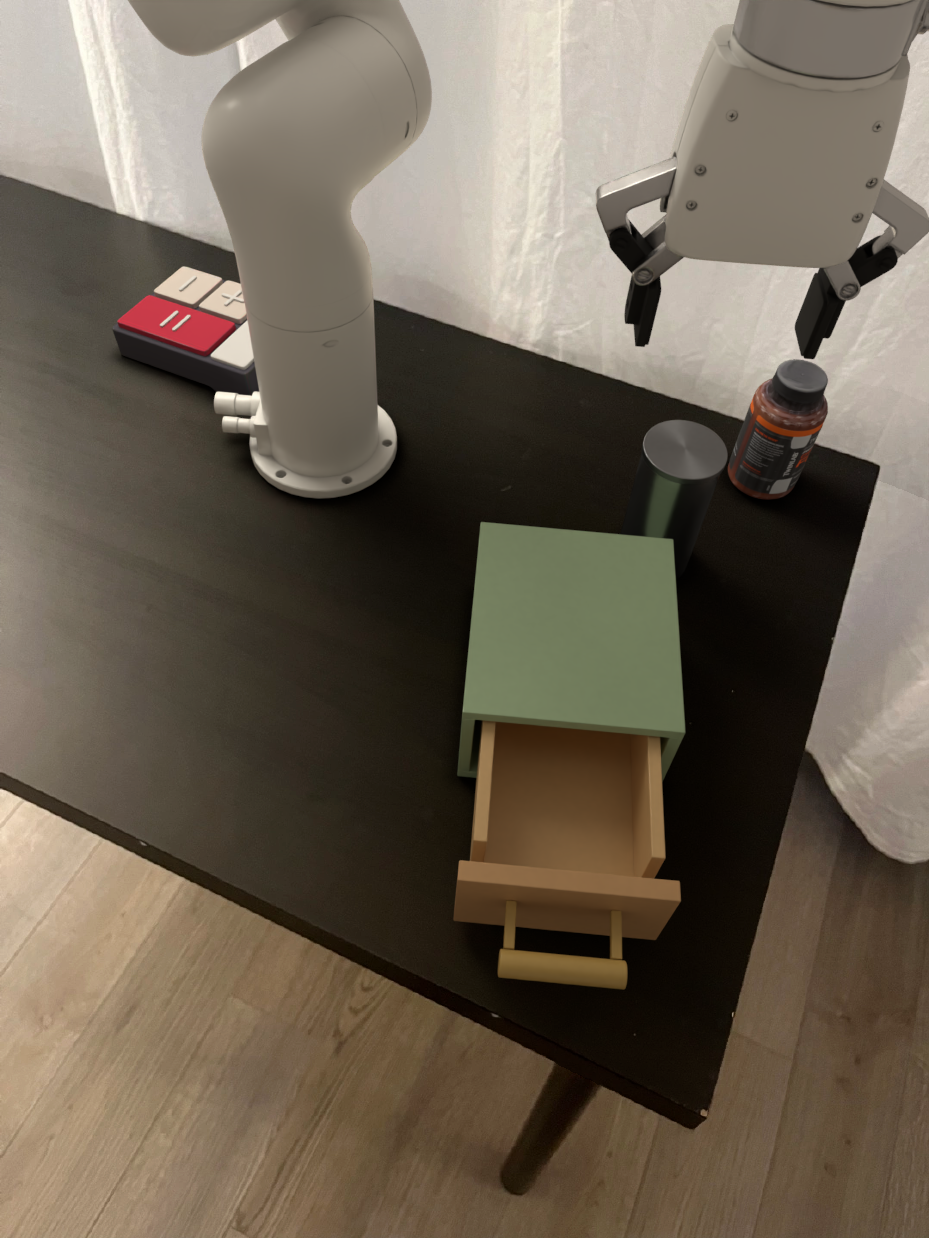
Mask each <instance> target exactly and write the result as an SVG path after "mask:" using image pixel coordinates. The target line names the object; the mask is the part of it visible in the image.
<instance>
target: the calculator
mask: <svg viewBox="0 0 929 1238" xmlns="http://www.w3.org/2000/svg"><path fill="white" fill-rule="evenodd" d="M111 329H112V333H113V335H114V339H115V341H116V344H117V347H118V350H119V352H120V355H121V356H123V357H126V358H129V359H132V360H134V361H138V362H141V363H143V364H146V365H149V366H152V367H155V368H158V369H159V370H163V371H165V372H169V373H171V374H174V375H177V376H180V377H183V378H185V379H188V380H191V381H194V382H197V383H200V384H202V385H205V386H208V387H210V388H211V389H212V390H213V391H215V393H216V392H229V393H238V394H239V395H249V396H252V394H253V392H254V391H256V392H259V387H258V381H257V375H256V369H255V363H254V357H253V351H252V345H251V339H250V333H249V327H248V321H247V315H246V309H245V303H244V300H243V294H242V289H241V283H239V282H236V281H233V280H224V279H223V278H222V277H220V276H218V275H214V274H210V273H207V272H204V271H201V270H197V269H194V268H191V267H189V266H181V267H180V268H179V269H178V270H176V271H175V272H174V273H173V274H171V276H169V277H167V279H165V280H164V281H163V282H162V283H161V284H159V285H158V286H157V287H156V288H155V289H154V290H153V292H152V293H151V294H148V295H146V296H145V297H144V298H142V299H141V300H140V301H139V302H138V303H136V304H135V305H134V306H133V307H132V308H130V309H129V310H128V311H127V312H126V313H124V314H123V315H122V316H121V317H119V318H118V319H117V320H116V323H115V324H114V325H113V326H112V328H111Z"/></svg>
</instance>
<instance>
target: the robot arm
mask: <svg viewBox="0 0 929 1238" xmlns="http://www.w3.org/2000/svg"><path fill="white" fill-rule="evenodd" d="M127 1H128V3H129V5H130V6H131V7H132V9H133V11H134V12H135V13H136V15H137V16H138V18H139V19H140V20H141V22H142V23H143V24H144V26H145V27H146V29H147V30H148V31H149V32H150V34H151V35H152V36H153V37H154V38H155V39H156V40H157V41H158V42H159V43H160V44H161V45H162V46H164V47H165V48H167V49H168V50H170V51H172V52H174V53H176V54H178V55H181V56H185V57H200V56H206V55H207V56H208V55H211V54H213V53H216V52H218V51H219V52H220V51H221V50H223V49H225V48H226V47H228V46H230V45H232V44H234V43H237V42H239V41H241V40H242V39H244V38H245V37H247V36H250V35H251V34H253V33H254V32H256V31H258V30H259V29H261V28H263V27H264V26H266V25H267V24H270V23H271V22H273V21H274V20H275V21H276V22H277V24H278V26H279V27H280V30H281V31H282V32H283V34H284V36H285V38H286V39H287V41H285V42H283V43H281V44H280V45H278V46H277V47H275V48H274V49H272V50H270V51H269V52H267V53H266V54H264V55H263V56H262V57H259V58H258V59H256V60H255V61H254V62H252V63H250V64H249V65H247V66H245V67H243V69H241V70H240V71H238V73H236V74H235V75H234V76H232V77H231V78H230V80H228V81H227V82H226V83H225V84H224V85H223V86H222V87H221V88H220V89H219V91H218V92H217V93H216V95H215V97H214V98H213V99H212V101H211V103H210V105H208V106H209V107H207V108H208V109H207V111H206V113H205V116H204V119H203V123H202V128H201V136H200V139H201V140H200V143H201V151H202V152H201V154H202V159H203V163H204V167H205V170H206V173H207V175H208V177H209V181H210V183H211V186H212V188H213V191H214V193H215V196H216V198H217V201H218V204H219V206H220V208H221V209H220V210H221V212H222V214H223V217H224V220H225V222H226V226H227V230H228V231H229V232H228V233H229V236H230V239H231V243H232V247H233V251H234V256H235V261H236V265H237V272H238V276H239V282H240V283H239V284H241V289H242V294H243V300H244V303H245V309H246V315H247V321H248V327H249V333H250V339H251V345H252V351H253V357H254V363H255V369H256V375H257V381H258V387H259V392H256V391H254V392H253V394H252V396H249V395H239V394H238V393H229V392H216V391H215V395H214V397H213V398H214V399H213V409H214V413H215V414H216V415H221V416H222V421H221V431H222V433H227V434H228V433H229V434H247V435H249V443H248V444H249V450H250V451H249V452H250V456H251V460H252V463H253V466H254V468H255V469H256V470H257V472H258V473H259V475H260V476H261V477H262V478H263V479H264V480H265V481H266V482H267V483H269V484H270V485H271V486H273V487H275V488H276V489H278V490H280V491H283V492H285V493H287V494H290V495H294V496H299V497H301V498H310V499H335V498H338V497H339V498H341V497H344V496H345V497H346V496H348V495H352V494H354V493H358V492H360V491H362V490H365V489H366V488H368V487H370V486H372V485H373V484H375V483H376V482H377V481H379V480H380V479H381V478H382V477H383V476H384V475H385V474H386V473H387V472H388V471H389V470H390V469H391V467H392V464H393V462H394V460H395V459H396V455H397V450H398V436H397V429H396V426H395V424H394V422H393V419H392V418H391V416H390V415H389V413H387V412H386V410H385V409H384V408H383V407H381V406H380V405H379V404H378V381H377V356H376V355H377V354H376V329H375V326H376V325H375V303H374V284H373V282H374V281H373V267H372V261H371V256H370V252H369V248H368V245H367V244H366V241H365V239H364V238H363V236H362V235H361V234H360V232H359V231H358V229H357V227H356V226H355V223H354V222H353V219H352V204H353V202H354V200H355V198H356V196H357V195H358V194H359V193H360V192H361V191H362V190H363V189H364V188H365V187H366V186H368V185H369V183H371V182H372V181H373V180H374V178H375V177H376V176H378V175H379V174H380V173H381V172H382V171H384V170H385V169H386V168H387V167H389V166H390V165H391V164H392V163H393V162H394V161H396V160H397V159H398V158H399V157H400V156H402V155H403V154H404V153H405V152H406V151H408V149H409V148H411V147H412V146H413V144H415V142H416V141H418V139H419V138H420V137H421V135H422V133H423V132H424V130H425V128H426V126H427V123H428V121H429V119H430V115H431V110H432V103H433V89H432V81H431V75H430V70H429V67H428V63H427V60H426V56H425V54H424V51H423V49H422V46H421V44H420V41H419V39H418V37H417V34H416V33H415V30H414V28H413V26H412V24H411V22H410V20H409V17H408V15H407V14H406V11H405V9H404V7H403V5H402V3H401V1H400V0H127ZM735 13H736V14H735V17H734V22H733V23H727V24H721V25H719V26H718V27H717V28H716V29H715V30H714V31H713V33H712V35H711V37H710V39H709V41H708V43H707V45H706V49H705V50H704V51H703V55H702V57H701V60H700V62H699V65H698V68H697V71H696V73H695V75H694V78H693V80H692V84H691V86H690V89H689V92H688V95H687V98H686V101H685V104H684V106H683V110H682V114H681V117H680V118H679V119H680V120H679V121H678V127H677V129H676V133H675V137H674V140H673V143H672V146H671V149H670V153H669V157H668V158H666V159H665V160H662V161H659V162H656V163H654V164H652V165H648V166H646V167H644V168H642V169H638V170H636V171H633V172H630V173H628V174H626V175H624V176H621V177H618V178H615V179H613V180H610V181H608V182H605V183H602V184H601V185H599V186H598V187H597V188H596V191H595V207H596V208H595V210H596V211H597V214H598V217H599V220H600V223H601V225H602V228H603V231H604V233H605V234H606V237H607V240H608V244H609V249H610V250H611V251H612V252H613V253H614V255H615V256H616V257H617V258H618V259H619V261H620V262H621V263H622V264H623V265H624V266H625V268H626V269H627V270H628V271H629V273H631V276H630V280H629V281H630V282H629V286H628V289H627V290H628V291H627V296H626V300H625V304H624V305H625V306H624V324H625V325H633V335H634V347H640V348H645V347H646V346H648V345H649V344H650V340H651V337H652V333H653V332H652V331H653V328H654V324H655V320H656V317H657V316H656V315H657V311H658V307H659V303H660V299H661V295H662V283H661V276H662V275H663V274H665V273H666V272H667V271H669V270H670V269H672V268H673V267H674V266H675V265H676V264H678V263H679V262H681V260H683V259H684V258H686V259H691V260H697V261H698V260H699V261H709V262H719V263H731V264H732V263H733V264H744V265H745V264H746V265H761V266H773V267H774V266H775V267H787V268H788V267H790V268H801V269H803V268H805V269H806V268H807V269H818V271H817V272H815V273H814V274H813V277H812V279H811V280H810V285H809V287H808V289H807V292H806V294H805V296H804V300H803V301H802V304H801V307H800V309H799V313H798V315H797V318H796V319H795V323H794V332H795V336H796V340H797V345H798V349H799V353H800V356H801V357H803V360H815V358H816V357H817V354H818V352H819V350H820V347H821V345H822V342H823V340H824V339H829V338H831V336H832V335H833V333H834V330H835V328H836V325H837V323H838V321H839V318H840V316H841V313H842V311H843V309H844V307H845V304H846V302H847V301H851V300H854V299H856V298H857V297H858V295H860V293H861V288H862V287H863V286H864V287H865V285H867V284H869V283H871V282H872V281H875V280H876V279H878V278H879V277H881V276H883V275H885V274H886V273H888V272H889V271H891V270H893V269H894V268H895V267H896V266H897V264H898V261H899V259H900V258H901V257H902V256H903V255H906V254H907V253H909V251H910V250H911V249H913V248H914V247H915V246H916V245H917V244H918V243H919V242H920V241H921V240H922V239H924V237H926V236H927V235H928V234H929V215H928V212H927V210H926V209H925V208H924V207H923V206H922V205H920V204H919V203H918V202H916V201H915V200H913V199H912V198H911V197H909V196H908V195H906V194H905V193H904V192H902V191H901V190H899V189H898V188H896V187H895V186H894V185H892V184H891V183H890V182H889V181H887V180H885V178H886V177H885V176H886V173H887V170H888V167H889V164H890V160H891V156H892V153H893V149H894V145H895V142H896V138H897V133H898V129H899V125H900V121H901V116H902V113H903V108H904V105H905V100H906V94H907V89H908V84H909V77H910V72H911V63H910V61H909V55H908V53H909V51H910V48H911V46H912V43H913V42H914V40H915V39H916V37H917V36H918V35H924V34H926V33H927V32H929V0H739V2H738V6H737V9H736V12H735ZM657 200H659V212H660V213H665V214H664V215H663V216H662V217H661V218H660V219H658V220H657V221H656V222H655V223H654V224H653V225H651V226H650V227H649V228H647V229H646V230H645V231H644V232H643V233H640V231H639V230H638V229H637V227H636V226H635V225H634V224H633V223H632V221H631V220H630V219H629V217H628V213H629V212H630V211H631V210H633V209H636V208H638V207H641V206H644V205H646V204H648V203H652V202H655V201H657ZM872 215H874V216H876V217H877V218H879V219H880V220H881V221H883V222H884V223H886V224H887V225H888V226H887V228H885V229H884V230H883V233H882V234H880V235H876V236H874V237H873V238H872V239H870V240H868V241H867V242H865V243H863V244H861V245H860V243H861V241H862V239H863V237H864V235H865V232H866V230H867V228H868V225H869V223H870V221H871V217H872ZM859 245H860V246H859ZM238 416H247V417H250V418H243V417H242V418H241V417H238Z"/></svg>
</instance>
